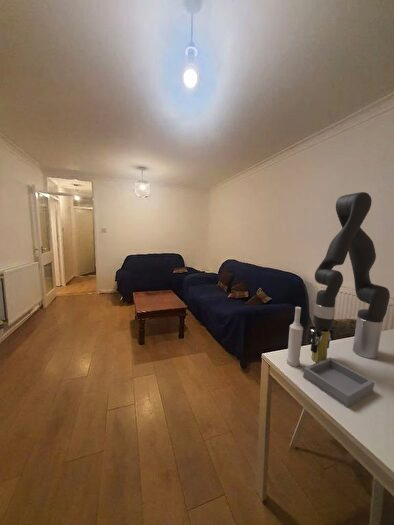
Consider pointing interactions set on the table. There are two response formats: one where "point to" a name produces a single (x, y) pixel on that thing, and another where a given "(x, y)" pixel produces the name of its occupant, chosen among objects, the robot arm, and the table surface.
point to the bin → (338, 381)
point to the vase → (321, 348)
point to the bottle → (295, 340)
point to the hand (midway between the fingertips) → (319, 349)
